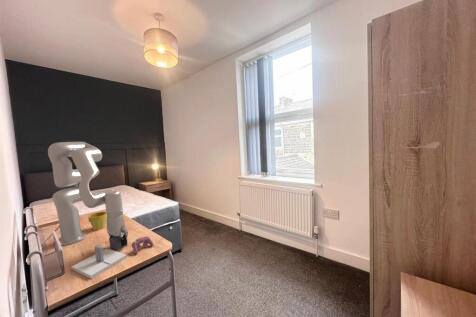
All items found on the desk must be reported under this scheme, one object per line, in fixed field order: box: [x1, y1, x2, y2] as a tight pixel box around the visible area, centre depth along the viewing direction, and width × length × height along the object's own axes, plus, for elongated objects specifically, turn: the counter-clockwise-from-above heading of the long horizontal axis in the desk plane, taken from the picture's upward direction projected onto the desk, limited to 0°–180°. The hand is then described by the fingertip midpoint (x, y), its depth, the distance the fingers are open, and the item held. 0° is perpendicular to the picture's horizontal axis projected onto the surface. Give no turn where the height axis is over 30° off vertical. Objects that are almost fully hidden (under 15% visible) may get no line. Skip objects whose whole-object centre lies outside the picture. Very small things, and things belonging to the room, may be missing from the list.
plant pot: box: [87, 211, 107, 231], centre depth 135 cm, size 10×10×10 cm
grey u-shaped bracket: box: [108, 236, 129, 252], centre depth 109 cm, size 6×6×6 cm
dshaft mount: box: [71, 244, 127, 279], centre depth 95 cm, size 16×16×8 cm
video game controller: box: [131, 236, 154, 255], centre depth 106 cm, size 10×5×7 cm, turn 141°
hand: (118, 243), depth 109 cm, fingers open, 9 cm apart
